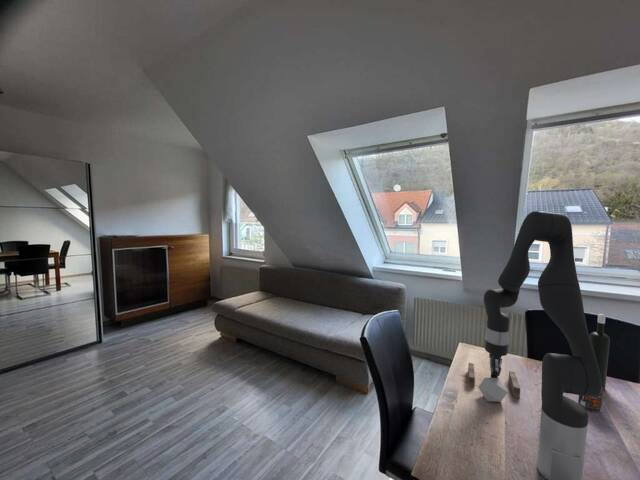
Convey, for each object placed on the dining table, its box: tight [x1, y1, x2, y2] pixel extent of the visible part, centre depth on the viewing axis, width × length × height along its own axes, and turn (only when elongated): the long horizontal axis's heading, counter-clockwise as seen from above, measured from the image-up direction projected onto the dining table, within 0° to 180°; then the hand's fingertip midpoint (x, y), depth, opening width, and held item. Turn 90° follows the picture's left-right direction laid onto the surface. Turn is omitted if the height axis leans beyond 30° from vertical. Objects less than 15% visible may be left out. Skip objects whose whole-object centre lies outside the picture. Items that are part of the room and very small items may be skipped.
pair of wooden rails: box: [467, 362, 521, 399], centre depth 116 cm, size 12×17×4 cm
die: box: [478, 377, 509, 403], centre depth 106 cm, size 8×9×10 cm
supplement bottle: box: [577, 387, 604, 413], centre depth 101 cm, size 6×6×11 cm
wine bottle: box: [589, 313, 611, 391], centre depth 113 cm, size 6×6×30 cm
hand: (493, 382), depth 110 cm, fingers closed
